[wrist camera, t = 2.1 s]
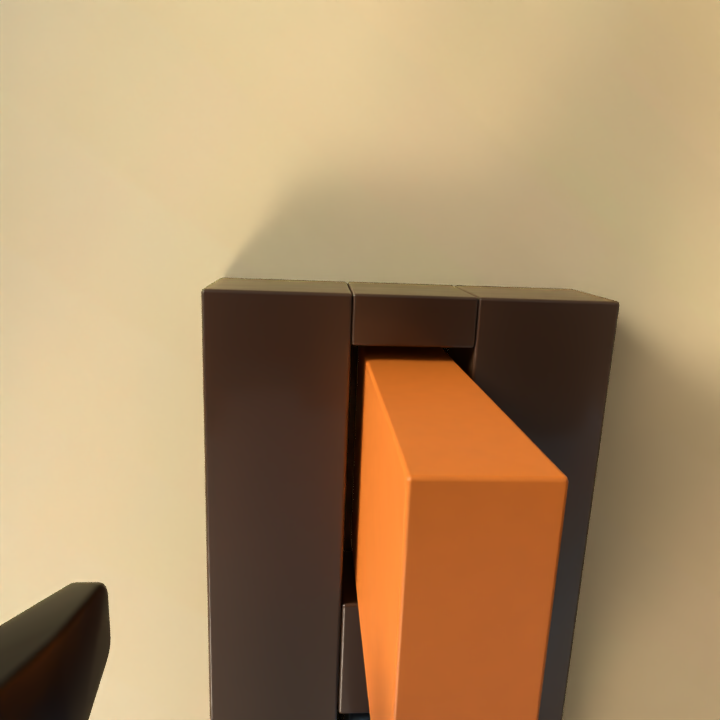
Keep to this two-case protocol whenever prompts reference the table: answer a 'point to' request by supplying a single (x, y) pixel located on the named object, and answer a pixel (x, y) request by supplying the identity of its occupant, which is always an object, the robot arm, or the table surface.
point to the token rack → (329, 460)
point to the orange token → (449, 543)
